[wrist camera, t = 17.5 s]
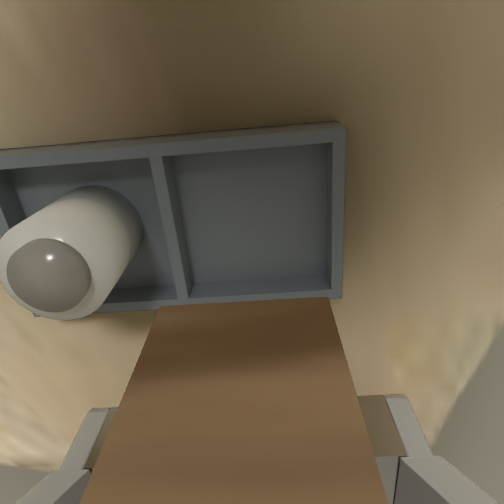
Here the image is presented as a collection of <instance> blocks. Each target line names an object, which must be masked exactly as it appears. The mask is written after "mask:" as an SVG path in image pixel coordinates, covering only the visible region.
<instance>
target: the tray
mask: <svg viewBox="0 0 504 504" xmlns="http://www.w3.org/2000/svg"><path fill="white" fill-rule="evenodd" d="M345 164H346V127H345V126H344V125H342V124H341V123H340V122H339V121H328V122H316V123H305V124H293V125H281V126H269V127H257V128H246V129H234V130H222V131H210V132H199V133H187V134H175V135H163V136H151V137H140V138H128V139H116V140H104V141H92V142H81V143H69V144H57V145H45V146H33V147H22V148H10V149H0V235H1V238H2V236H3V235H4V234H5V233H6V232H7V231H8V230H10V229H11V228H12V227H14V226H15V225H17V224H19V223H20V222H22V221H23V220H25V219H27V218H28V217H30V216H32V215H33V214H35V213H36V212H38V211H40V210H41V209H43V208H44V207H46V206H48V205H49V204H51V203H52V202H54V201H56V200H57V199H59V198H61V197H62V196H64V195H65V194H67V193H69V192H70V191H72V190H74V189H76V188H78V187H81V186H86V185H99V186H104V187H107V188H110V189H113V190H115V191H117V192H119V193H120V194H122V195H123V196H125V197H126V198H127V199H128V200H129V201H130V202H131V203H132V204H133V205H134V207H135V208H136V210H137V211H138V213H139V215H140V218H141V221H142V225H143V239H142V243H141V245H140V248H139V249H138V251H137V253H136V254H135V256H134V257H133V259H132V260H131V262H130V263H129V265H128V266H127V268H126V269H125V271H124V272H123V274H122V275H121V277H120V278H119V280H118V281H117V283H116V284H115V286H114V287H113V289H112V290H111V292H110V293H109V295H108V296H107V298H106V299H105V301H104V302H103V303H102V305H101V306H100V307H99V308H98V309H97V310H95V311H94V312H92V313H105V312H122V311H138V310H155V309H159V307H160V306H170V305H187V304H205V303H223V302H240V301H258V300H275V299H293V298H311V297H328V299H335V298H342V281H343V242H344V203H345ZM33 315H34V317H40V315H37V314H35V313H33Z"/></svg>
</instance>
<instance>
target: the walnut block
mask: <svg viewBox="0 0 504 504" xmlns="http://www.w3.org/2000/svg"><path fill="white" fill-rule="evenodd" d="M79 504H388V500H387V497H386V494H385V490H384V487H383V483H382V480H381V476H380V473H379V470H378V466H377V463H376V459H375V456H374V453H373V449H372V446H371V442H370V439H369V435H368V432H367V429H366V425H365V422H364V418H363V415H362V412H361V408H360V405H359V401H358V398H357V395H356V391H355V388H354V384H353V381H352V377H351V374H350V371H349V367H348V364H347V360H346V357H345V354H344V350H343V347H342V343H341V340H340V336H339V333H338V330H337V326H336V323H335V319H334V316H333V313H332V309H331V306H330V302H329V299H328V297H311V298H293V299H275V300H258V301H240V302H223V303H205V304H187V305H170V306H160V307H159V310H158V312H157V315H156V317H155V320H154V322H153V325H152V327H151V329H150V332H149V334H148V337H147V339H146V342H145V344H144V346H143V349H142V351H141V354H140V356H139V359H138V361H137V364H136V366H135V368H134V371H133V373H132V376H131V378H130V381H129V383H128V386H127V388H126V390H125V393H124V395H123V398H122V400H121V403H120V405H119V407H118V410H117V412H116V415H115V417H114V420H113V422H112V425H111V427H110V429H109V432H108V434H107V437H106V439H105V442H104V444H103V447H102V449H101V451H100V454H99V456H98V459H97V461H96V464H95V466H94V468H93V471H92V473H91V476H90V478H89V481H88V483H87V486H86V488H85V490H84V493H83V495H82V498H81V500H80V503H79Z"/></svg>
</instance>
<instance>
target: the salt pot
mask: <svg viewBox="0 0 504 504" xmlns="http://www.w3.org/2000/svg"><path fill="white" fill-rule="evenodd" d="M142 239H143V225H142V221H141V218H140V215H139V213H138V211H137V210H136V208H135V207H134V205H133V204H132V203H131V202H130V201H129V200H128V199H127V198H126V197H125V196H123V195H122V194H120V193H119V192H117V191H115V190H113V189H110V188H107V187H104V186H99V185H86V186H81V187H78V188H76V189H74V190H72V191H70V192H69V193H67V194H65V195H64V196H62V197H61V198H59V199H57V200H56V201H54V202H52V203H51V204H49V205H48V206H46V207H44V208H43V209H41V210H40V211H38V212H36V213H35V214H33V215H32V216H30V217H28V218H27V219H25V220H23V221H22V222H20V223H19V224H17V225H15V226H14V227H12V228H11V229H10V230H8V231H7V232H6V233H5V234H4V235H3V236H2V238H1V240H0V281H1V283H2V285H3V287H4V288H5V290H6V291H7V292H8V293H9V295H10V296H11V297H12V298H13V299H14V300H15V301H16V302H18V303H19V304H20V305H22V306H23V307H24V308H26V309H28V310H29V311H31V312H33V313H35V314H37V315H40V316H43V317H46V318H50V319H56V320H73V319H78V318H82V317H85V316H87V315H89V314H91V313H92V312H94V311H95V310H97V309H98V308H99V307H100V306H101V305H102V303H103V302H104V301H105V299H106V298H107V296H108V295H109V293H110V292H111V290H112V289H113V287H114V286H115V284H116V283H117V281H118V280H119V278H120V277H121V275H122V274H123V272H124V271H125V269H126V268H127V266H128V265H129V263H130V262H131V260H132V259H133V257H134V256H135V254H136V253H137V251H138V249H139V248H140V245H141V243H142Z"/></svg>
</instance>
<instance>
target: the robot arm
mask: <svg viewBox="0 0 504 504" xmlns="http://www.w3.org/2000/svg"><path fill="white" fill-rule="evenodd" d="M357 398H358V401H359V405H360V408H361V412H362V415H363V418H364V422H365V425H366V429H367V432H368V435H369V439H370V442H371V446H372V449H373V453H374V456H375V459H376V463H377V466H378V470H379V473H380V476H381V480H382V483H383V487H384V490H385V494H386V497H387V500H388V504H499V503H498V502H497V501H495V500H494V499H493V498H492V497H490V496H489V495H488V494H487V493H486V492H484V491H483V490H482V489H481V488H479V487H478V486H477V485H476V484H475V483H473V482H472V481H471V480H470V479H468V478H467V477H466V476H465V475H464V474H462V473H461V472H460V471H459V470H457V469H456V468H455V467H454V466H453V465H451V464H450V463H449V462H448V461H447V460H445V459H444V458H443V457H441V456H434V455H433V453H432V451H431V449H430V446H429V444H428V442H427V440H426V437H425V435H424V433H423V431H422V429H421V426H420V424H419V422H418V420H417V417H416V415H415V413H414V411H413V409H412V406H411V404H410V402H409V400H408V398H407V396H406V395H405V394H389V395H368V396H357ZM117 410H118V407H112V408H92V409H91V410H90V411H89V412H88V413H87V415H86V417H85V419H84V421H83V423H82V425H81V427H80V429H79V431H78V433H77V435H76V437H75V439H74V441H73V443H72V445H71V447H70V449H69V451H68V453H67V455H66V457H65V459H64V461H63V463H62V465H61V467H60V469H59V470H56V471H52V472H51V473H49V474H48V475H47V476H46V477H45V478H44V479H42V480H41V481H40V482H39V483H38V484H37V485H35V486H34V487H33V488H32V489H31V490H30V491H28V492H27V493H26V494H25V495H24V496H23V497H21V498H20V499H19V500H18V501H17V502H16V503H14V504H79V503H80V500H81V498H82V495H83V493H84V490H85V488H86V486H87V483H88V481H89V478H90V476H91V473H92V471H93V468H94V466H95V464H96V461H97V459H98V456H99V454H100V451H101V449H102V447H103V444H104V442H105V439H106V437H107V434H108V432H109V429H110V427H111V425H112V422H113V420H114V417H115V415H116V412H117Z"/></svg>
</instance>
